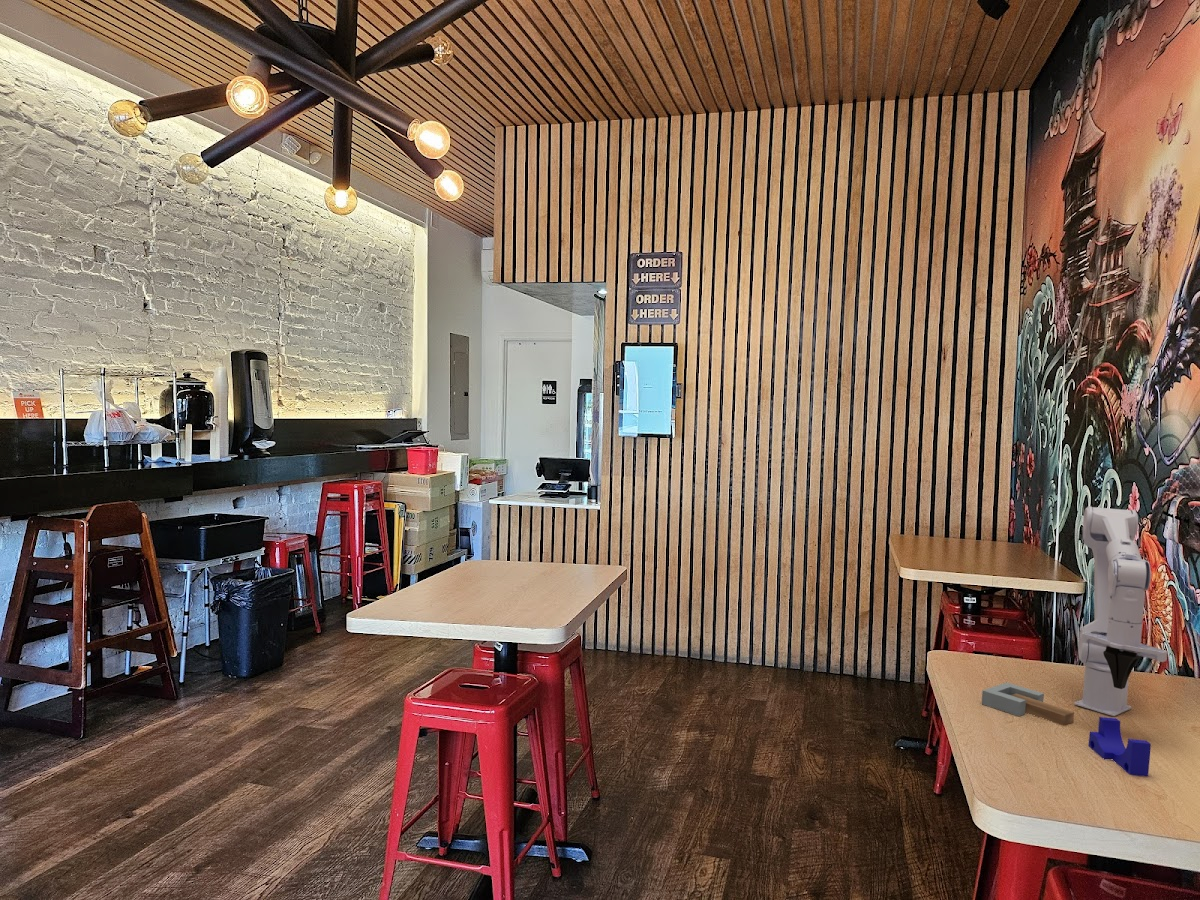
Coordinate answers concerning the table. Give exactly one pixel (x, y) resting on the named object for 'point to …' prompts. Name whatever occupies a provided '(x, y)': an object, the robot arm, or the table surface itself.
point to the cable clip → (1120, 747)
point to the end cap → (1009, 698)
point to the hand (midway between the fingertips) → (1119, 687)
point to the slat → (1047, 711)
